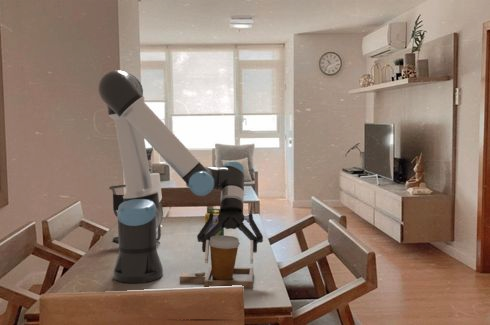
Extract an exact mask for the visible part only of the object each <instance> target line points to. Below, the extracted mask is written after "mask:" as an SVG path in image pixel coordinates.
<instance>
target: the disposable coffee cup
mask: <svg viewBox="0 0 490 325" xmlns="http://www.w3.org/2000/svg"><path fill="white" fill-rule="evenodd" d="M240 244H241V243H240V241H239V238H238V237H236V236H233V235H232V236H231V235H224V236H221V235H220V236H212V237H211V238H210V241H209V251H210V252H209V253H210V261H211V262H210V265H211V267H212V277H213V278H215V279H219V280H228V279H232V278H233V272H234V268H235V266H236V260H237V255H238V250H239V249H238V248H239V247H240Z"/></svg>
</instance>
